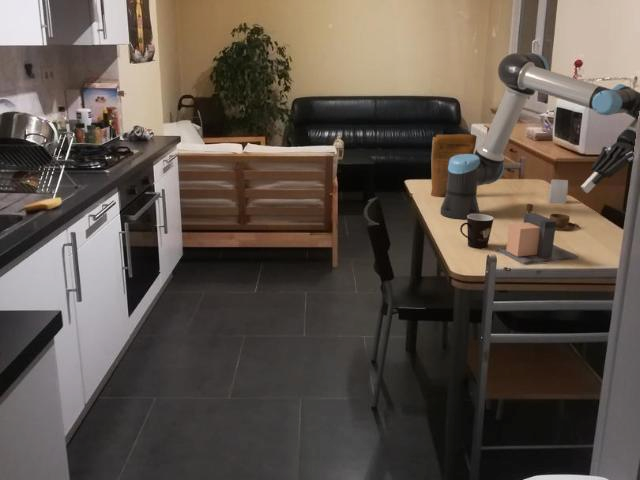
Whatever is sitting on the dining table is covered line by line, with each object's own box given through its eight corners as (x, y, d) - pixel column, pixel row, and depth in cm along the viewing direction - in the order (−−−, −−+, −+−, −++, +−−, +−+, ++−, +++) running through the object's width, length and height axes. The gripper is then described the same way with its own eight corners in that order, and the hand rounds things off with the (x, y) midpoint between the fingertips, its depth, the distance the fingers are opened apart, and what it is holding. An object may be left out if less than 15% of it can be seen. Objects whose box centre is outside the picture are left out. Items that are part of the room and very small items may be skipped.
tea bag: (565, 203, 273) (568, 181, 270) (549, 202, 274) (552, 180, 271) (564, 201, 276) (567, 179, 273) (548, 200, 277) (550, 178, 274)
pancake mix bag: (472, 199, 278) (478, 135, 269) (428, 197, 279) (433, 133, 271) (470, 195, 284) (476, 133, 276) (427, 194, 286) (431, 131, 277)
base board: (523, 264, 195) (524, 261, 195) (497, 250, 208) (498, 248, 207) (578, 258, 201) (578, 255, 201) (549, 245, 214) (549, 243, 214)
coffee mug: (486, 242, 217) (489, 214, 214) (493, 250, 209) (497, 220, 206) (452, 241, 216) (455, 213, 213) (459, 249, 208) (461, 220, 205)
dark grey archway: (540, 257, 199) (545, 222, 195) (520, 247, 208) (524, 213, 205) (551, 256, 200) (556, 221, 196) (530, 246, 209) (534, 212, 206)
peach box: (517, 256, 198) (520, 229, 196) (506, 250, 204) (509, 224, 201) (543, 253, 202) (547, 226, 199) (532, 248, 207) (535, 221, 204)
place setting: (540, 232, 232) (542, 217, 230) (522, 218, 251) (523, 203, 249) (587, 233, 232) (589, 217, 230) (565, 218, 251) (567, 204, 249)
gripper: (655, 147, 199) (604, 202, 199) (624, 141, 211) (576, 192, 211) (645, 131, 196) (593, 186, 196) (614, 125, 207) (565, 177, 207)
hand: (584, 189), depth 203 cm, fingers closed
